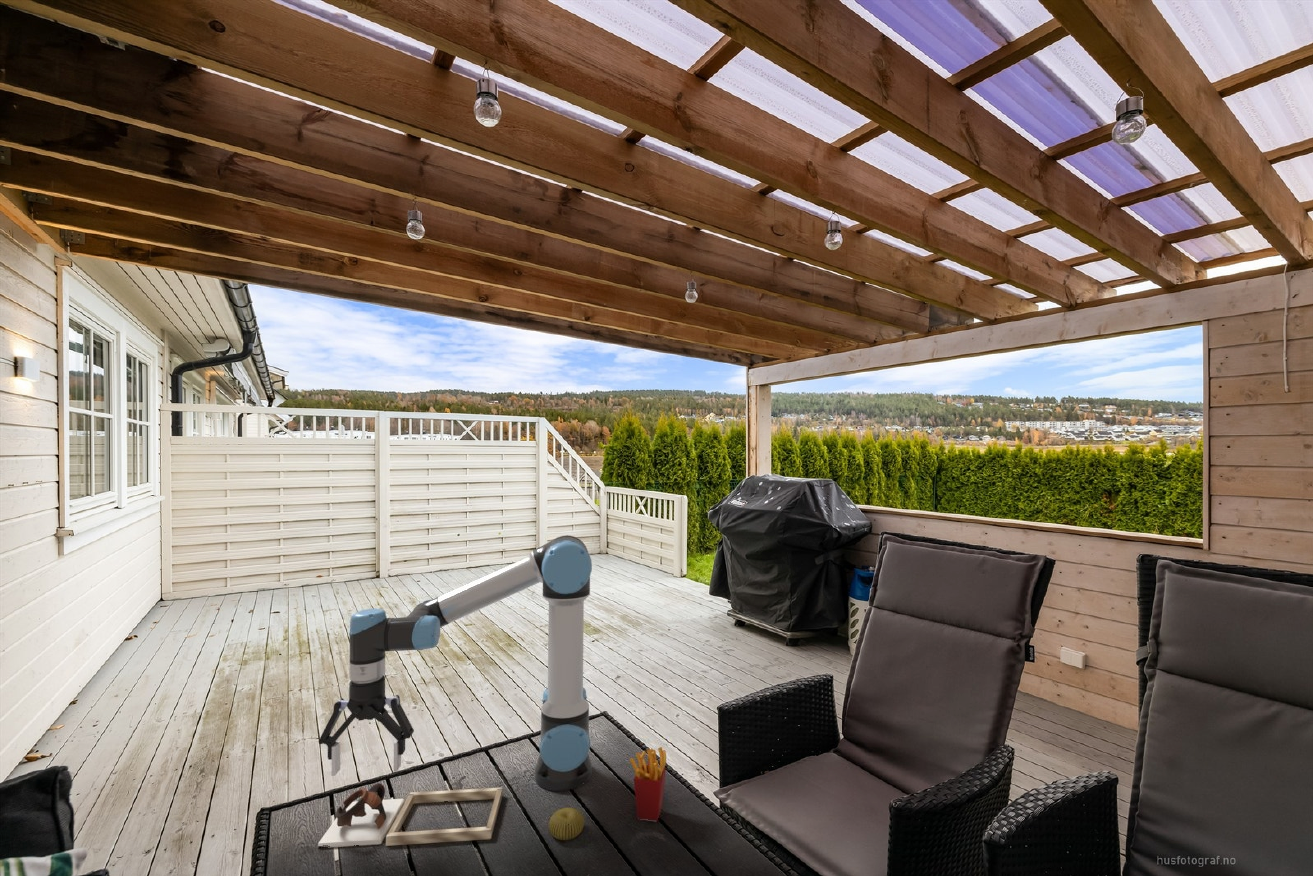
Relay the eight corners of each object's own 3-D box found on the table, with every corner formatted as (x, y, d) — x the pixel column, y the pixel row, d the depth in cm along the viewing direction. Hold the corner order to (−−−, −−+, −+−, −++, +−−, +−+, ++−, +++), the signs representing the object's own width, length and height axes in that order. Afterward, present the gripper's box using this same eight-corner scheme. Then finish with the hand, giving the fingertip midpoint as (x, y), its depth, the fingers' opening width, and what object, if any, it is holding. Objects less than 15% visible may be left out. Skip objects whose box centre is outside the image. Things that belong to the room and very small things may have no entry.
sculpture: (583, 802, 133) (585, 823, 125) (582, 819, 133) (585, 841, 125) (548, 805, 132) (548, 827, 124) (548, 823, 131) (548, 846, 124)
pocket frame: (502, 795, 142) (502, 787, 142) (490, 839, 126) (491, 829, 126) (409, 800, 139) (410, 792, 140) (385, 845, 123) (386, 836, 123)
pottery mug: (376, 839, 124) (356, 811, 123) (342, 854, 126) (321, 826, 124) (403, 794, 136) (385, 768, 135) (371, 808, 137) (353, 781, 136)
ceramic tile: (403, 802, 139) (403, 798, 139) (380, 844, 124) (380, 839, 124) (347, 806, 137) (348, 801, 137) (317, 848, 122) (318, 843, 122)
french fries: (660, 826, 131) (661, 760, 131) (626, 820, 132) (626, 755, 133) (668, 803, 139) (668, 741, 140) (635, 799, 141) (636, 737, 142)
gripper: (302, 687, 127) (301, 783, 126) (418, 681, 129) (417, 775, 129) (318, 674, 134) (317, 765, 133) (427, 669, 137) (427, 758, 136)
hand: (366, 770), depth 131 cm, fingers open, 13 cm apart
